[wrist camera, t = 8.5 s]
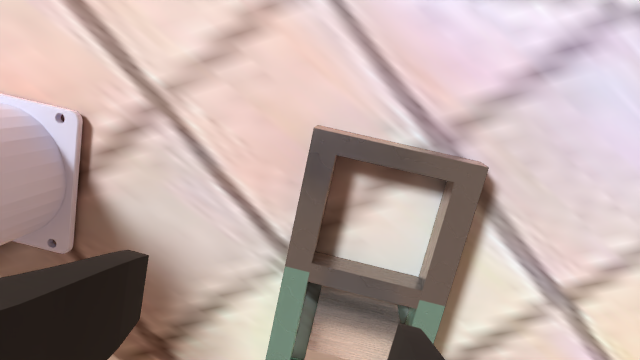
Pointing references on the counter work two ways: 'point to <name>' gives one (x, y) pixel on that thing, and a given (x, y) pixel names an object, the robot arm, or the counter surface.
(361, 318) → the beige rectangular block
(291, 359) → the grey teal tray
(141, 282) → the robot arm
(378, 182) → the counter surface
